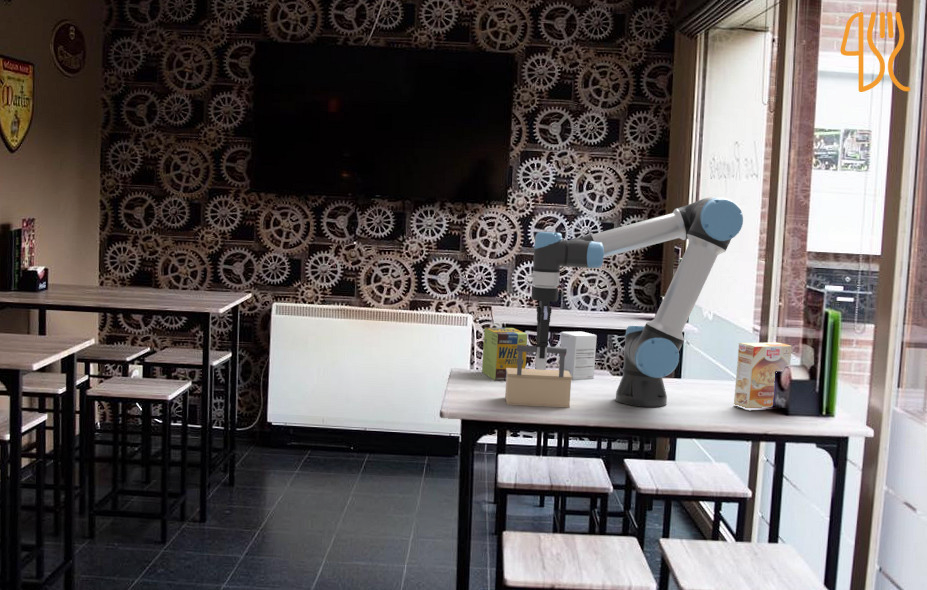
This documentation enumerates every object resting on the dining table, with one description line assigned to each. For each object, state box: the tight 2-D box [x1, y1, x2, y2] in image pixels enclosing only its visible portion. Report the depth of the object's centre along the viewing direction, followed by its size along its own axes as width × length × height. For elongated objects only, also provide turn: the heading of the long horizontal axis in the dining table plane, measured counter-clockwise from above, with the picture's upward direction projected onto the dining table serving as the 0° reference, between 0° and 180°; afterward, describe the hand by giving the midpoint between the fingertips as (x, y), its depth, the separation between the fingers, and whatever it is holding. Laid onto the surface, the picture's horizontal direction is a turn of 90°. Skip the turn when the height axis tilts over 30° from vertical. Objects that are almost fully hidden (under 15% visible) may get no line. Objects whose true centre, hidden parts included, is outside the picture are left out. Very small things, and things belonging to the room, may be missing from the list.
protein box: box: [481, 326, 528, 382], centre depth 326 cm, size 10×15×16 cm
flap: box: [506, 345, 573, 381], centre depth 285 cm, size 18×12×9 cm, turn 90°
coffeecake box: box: [733, 341, 793, 408], centre depth 294 cm, size 15×7×20 cm, turn 115°
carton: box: [504, 374, 572, 408], centre depth 286 cm, size 18×10×8 cm, turn 90°
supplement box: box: [558, 331, 598, 381], centre depth 332 cm, size 9×9×15 cm
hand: (540, 368), depth 280 cm, fingers closed on flap, 2 cm apart
